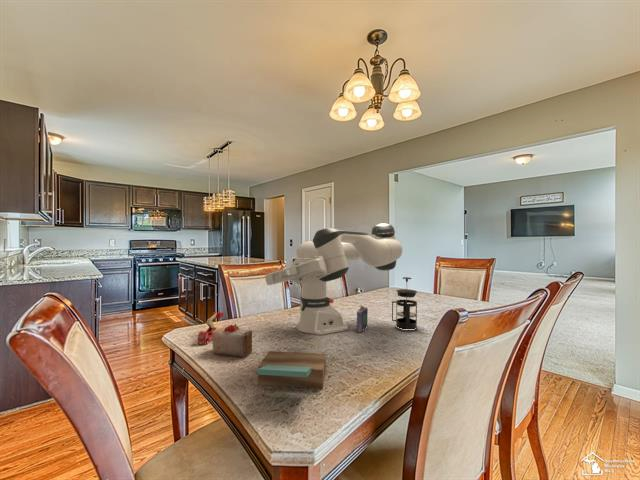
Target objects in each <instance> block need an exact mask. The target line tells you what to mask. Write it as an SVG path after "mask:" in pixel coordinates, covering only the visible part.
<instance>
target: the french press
mask: <svg viewBox="0 0 640 480" xmlns="http://www.w3.org/2000/svg"><path fill="white" fill-rule="evenodd" d="M401 278H402V279H403V280H405V282H406V285H405V286H406V287H405V288H404V289H403V288H401V289H397V290H396V293H397V296H398V297H402V298H406V299H397V300H393V301H392V302H391V321H392V322H395V327H396V326H397V327H399V328H402V329H415V328H417V329H418V326H417V323H418V320H417V318H418V315H417V314H418V302H417V301H415V300H411V299H408V298H414V297H416V294H417V293H418V291H417V290H415V289H409V288H408V282H409V280H412V277H409V276H406V277H405V276H404V277H401ZM394 304H396V305H395V306H396V307H395V308H396V311H395V312H396V313H395V314H396V316H395V319H394ZM398 306H400V307H403V308H402V310H403V311H398ZM414 307H415V312H412V311H411V308H414ZM398 317H399V318H398ZM414 318H415V319H414Z"/></svg>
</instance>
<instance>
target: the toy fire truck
mask: <svg viewBox="0 0 640 480" xmlns="http://www.w3.org/2000/svg"><path fill="white" fill-rule="evenodd" d="M224 317H225V316H224V312H219V311H216V312H212V316H211V317H210V318H207V320H206V325H207V326H208V328H207V330H205V331H203V330H201V331H200V332H199V333H198V334H197V335H198V336H197V344H199V345H208V344H209V343H210V342H211V341H213V340H212V332H213V331H214V330H216V329H218V327H216V326H215V324H214V322H213V320H214V319H222V318H224Z"/></svg>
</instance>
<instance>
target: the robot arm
mask: <svg viewBox="0 0 640 480" xmlns="http://www.w3.org/2000/svg"><path fill="white" fill-rule="evenodd" d="M395 233H396V231H395V228H394V226H393V225H392V224H389V223H383V222H381V223H378V224H376V225H374V226H373V227H372V229H371V235H370V234H369V233H368V232H363V231H356V230H355V231H354V230H353V231H352V230H344V229H337V228H334V227H327V228H322V229H319V230H317V231H316V232H315V234H314V236H313V239H312V241H309V240H307V241H304V242H301V244H300V245H298V247H297V249H296V256H297V259H295V260H293V262H292V263H291V265H290V266H289V267H285V268H283V269H279V270H277V271H273V272H270V273H269V272H268V273H267V274H265V276H264V278H265V283H266V285H267V286H272V285H276V284H280V283H283V282H287V281H291V280H292V281H293V282H295V284H298V285H301V294H300V295H301V296H300V300H299V309H300V316H299V320H298V325H297V330H298V331H299V332H302V333H306V334H314V335H319V336H321V335H327V334H332V333H337V332H338V333H339V332H344V331H348V330H349V327H348V324H346V323H345V322H343V321H344V320H343V316H342V314H341V313H340V312H339V311H338V310H337V309H336V308H335V307H334V306H332V305H331V304H333V303H334V299H333V298H332V297H328V296H327V282H330V281H333V280H337V279H341V278H342V277H344V276H345V275H346V274H347V272H348V271H349V268H350V267H349V263H348V262H350V261H357V260H362V261H363V262H364V264H366V265H368V266H370V267H374V268H375V269H377V270H379V271H383V272H388V271H392V270H394V269H395V268H396V266H397V260H399V259H401V256H402V255H403V246H402V244H401V243H400V242H399V241H398V240H396V235H395Z"/></svg>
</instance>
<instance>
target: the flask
mask: <svg viewBox="0 0 640 480" xmlns="http://www.w3.org/2000/svg"><path fill="white" fill-rule="evenodd" d="M368 311H369V310H368V308H367V307H365V306H364V305H362V304H361V305H359V309H358V310H357V311H356V333H363V332H364V331H363V329H364V330H366V329H367V328H368V313H369V312H368ZM366 327H367V328H366ZM365 328H366V329H365ZM362 331H363V332H362Z"/></svg>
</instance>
